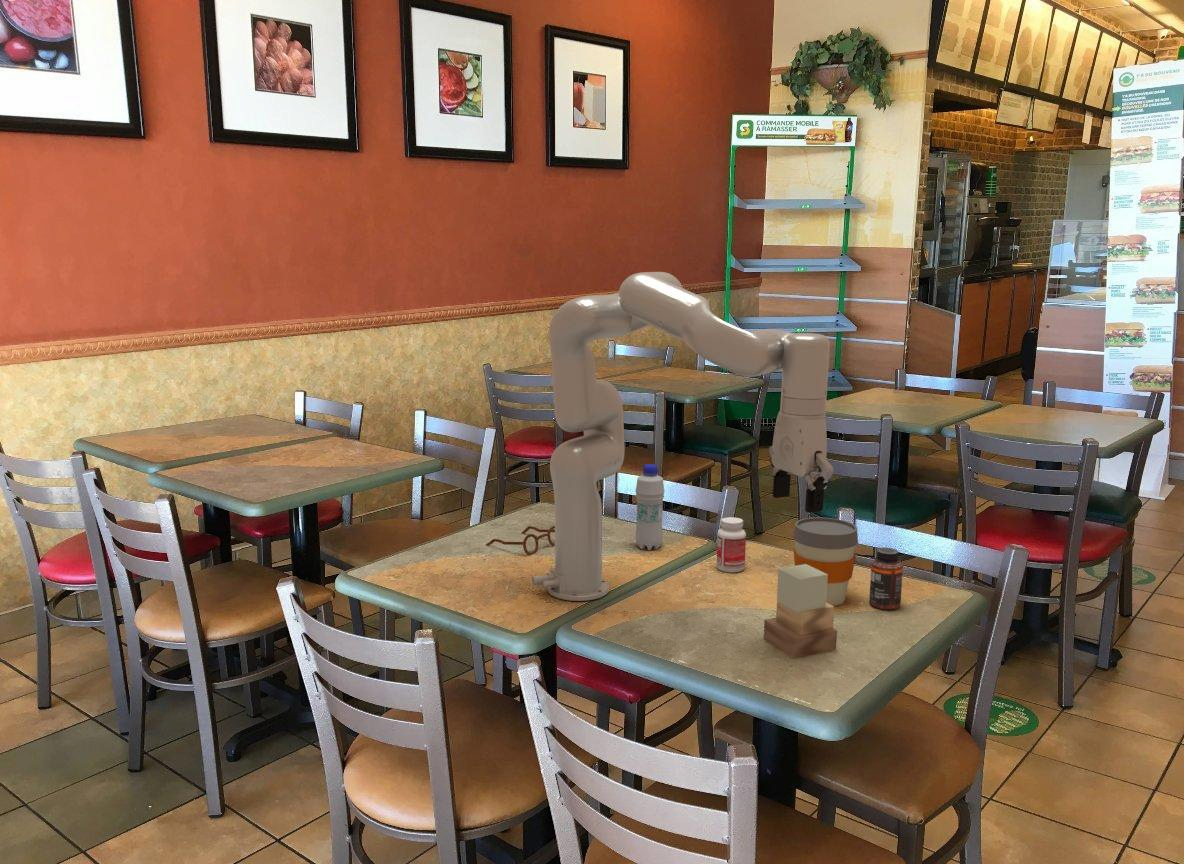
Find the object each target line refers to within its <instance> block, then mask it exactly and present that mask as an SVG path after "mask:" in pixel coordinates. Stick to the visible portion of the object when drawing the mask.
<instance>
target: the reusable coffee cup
mask: <svg viewBox="0 0 1184 864" xmlns="http://www.w3.org/2000/svg"><path fill="white" fill-rule="evenodd" d="M858 535H859V534H858V526H856V525H855V524H854V523H851V522H849V521H847V520H844V519H838V518H831V517H806V518H802V519H798V520H797V521H795V523H794V528H793V536H792V538H793V540H794V546H795V547H794V549H793V559H794V560H793V561H794V566H797V565H803V564H807V565H809V566H811V567H813V568H815V569H817V570H820V571H822V572H824V573H826V574H828V579H827V596H826V603H828V604H830V605H832V606H834V607H835V606H839V605H842V604H843V603H845V600H846V597H847V591H848V586H849V582H850V580H851V578H852V576H853V573H854V568H855V567H854V566H855V564H856V563H855V562H856V557H857V556H856V554H855V550H856V546H857V545H858V544H859V539H858V537H859V536H858Z"/></svg>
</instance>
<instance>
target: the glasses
mask: <svg viewBox="0 0 1184 864" xmlns="http://www.w3.org/2000/svg"><path fill="white" fill-rule="evenodd" d="M529 530H534V531H535V532H539V533H542V534H540V535H535V534H534V533H533V534H531V533H529V534H527V535H526V536H525V537H524V539H523V541H504V540H502V539H498V538H493V539H491V540H490V541H489V542H487V543H485V546H487V547H489V546H491V545H492V544H494V543H495V542H497V543H500V544H502V545H505V546H506V545H508V546H509V545H510V546H514V545H515V546H518V545H519V546H520V545H521V546H523V551H524V553H525V554H526V555H528V556H532V555H534V554H536V553H537V552H538V549H539V540H540V539H542V538H545V537H547V541H548V543H549V545H550V546H552V547H555V542H553V541H552V540H551V539H552V538H551V533H555V525H552V526H551V527H550V528H549V529H548V528H547V529H540V528H537V527H536V526H531V525H529V526H527V527H525V529H524V530H523V531H521V534H523V535H524V534H526V533H527V532H528V531H529ZM529 538H533V539H534V541H535V548H534V550H532V552H530V551H528V549H527V540H528V539H529Z"/></svg>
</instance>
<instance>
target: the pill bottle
mask: <svg viewBox="0 0 1184 864" xmlns="http://www.w3.org/2000/svg"><path fill="white" fill-rule="evenodd" d="M720 526H721V528H719V529H718V531H717V534H716V535H717V537H716V568H717V569H718V570H719V571H722V572H724V573H739V572H742V571H744V570H745V567H746V549H747V547H746V544H747V542H746V541H747V539H746V538H747V533H746V531H745V530H744V529H743V526H744V520H743V519H742V518H739V517H731V516H729V517H723V518H721V522H720Z"/></svg>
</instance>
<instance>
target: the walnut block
mask: <svg viewBox="0 0 1184 864" xmlns="http://www.w3.org/2000/svg"><path fill="white" fill-rule="evenodd" d="M763 622H764V623H763V624H764V625H763V640H765V641H766V642H768V643H769V644H771V645H773V646H774V647H775V648H777V649H778V650H780V651H782V653H785V654H786V655H788V656H789V657H791V658H792V659H798V658H803V657H807V656H811V655H817V654H822V653H826V652H832V651H836V650H837V642H838V641H837V640H838V629H836V628H835V627H833V628H832V629H827V630H822V631H818V632H813V633H808V634H804V635H800V634H798V633H797V632H795V631H793V630H791V629H790V628H788V627H786V626H784V625H783V624H781V623H779V622H778V621H776V617H772V618H766V619H764V621H763Z"/></svg>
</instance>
